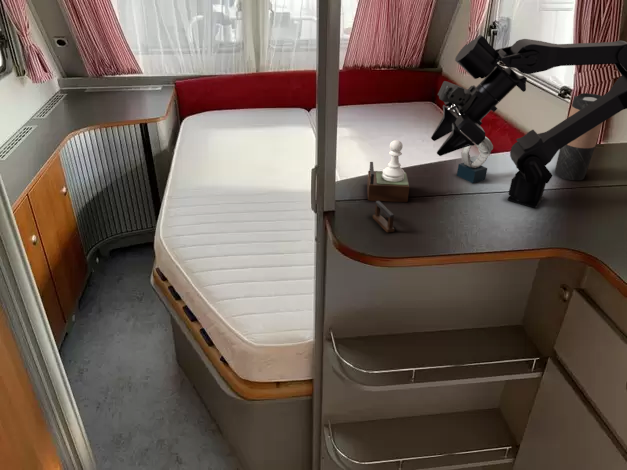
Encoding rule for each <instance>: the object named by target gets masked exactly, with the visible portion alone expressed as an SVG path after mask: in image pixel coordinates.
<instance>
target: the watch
mask: <svg viewBox="0 0 627 470" xmlns="http://www.w3.org/2000/svg"><path fill="white" fill-rule="evenodd" d="M474 146H475V147H476V148H477V149H478V152H479V155H478V157H477V158H476V159H475V160H474V161H472V160H471V154H470V151H471V150H470V149H471V148H472V147H473V146H472V145H471V146H468V147H464V148H461V153H460V156H461V161H462V162H460V163H458V164H457V165H458V166H457V171H456V177H459V178H460V179H463V180H465V181H467V182H469V183H471V184H476V183H480V182H483V181H485V180H486V178H487V173H488V167H486V166H484V165H483V164H484V163H485V162H486V161H487V160H488V158H489V157H490V155H491V152H492V151H493V149H494V145H493V143H492V141H491V140H490V139H489V138H488V137H487V135H485V139H484V140H483V141H482V142H481V143H480V144H479V145H476V144H475V145H474Z"/></svg>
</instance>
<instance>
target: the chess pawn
mask: <svg viewBox="0 0 627 470" xmlns="http://www.w3.org/2000/svg"><path fill="white" fill-rule="evenodd" d="M389 149H390V150H389V152H388V154H389V155H390V161H389V162H388V163H387V165H386V167H384V168H383V169H382V171H383V173H382V178H383V179H384V180H386V181H390V182H399V181H402V180H403V179H404V172H405V170H404V169H403V168H402V165H401V163H400V162H399V157H400V156H402V155H403V153H402V150H403V143H402V141H401V140H399V139H394V140H392V141H391V142H390V143H389Z"/></svg>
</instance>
